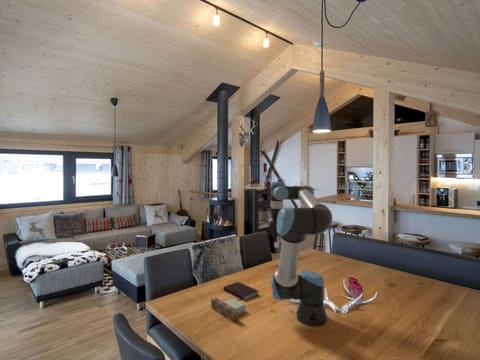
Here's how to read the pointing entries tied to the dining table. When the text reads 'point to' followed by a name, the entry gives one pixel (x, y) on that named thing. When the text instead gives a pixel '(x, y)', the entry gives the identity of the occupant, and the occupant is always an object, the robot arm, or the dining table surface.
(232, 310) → the board
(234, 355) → the dining table surface
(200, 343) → the dining table surface
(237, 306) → the block
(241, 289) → the book
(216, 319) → the dining table surface
